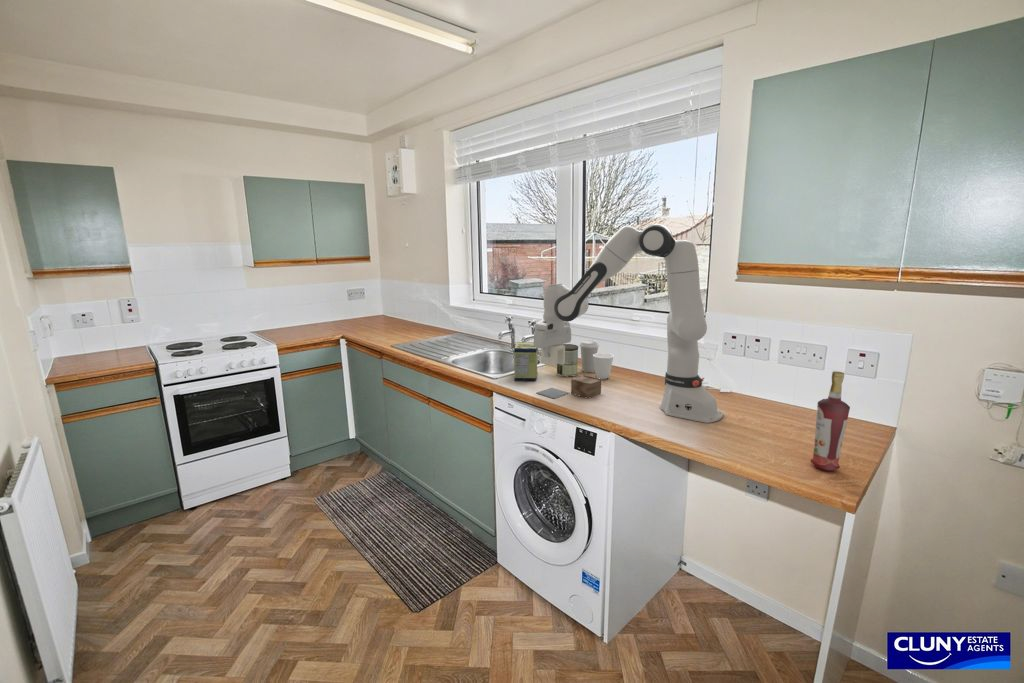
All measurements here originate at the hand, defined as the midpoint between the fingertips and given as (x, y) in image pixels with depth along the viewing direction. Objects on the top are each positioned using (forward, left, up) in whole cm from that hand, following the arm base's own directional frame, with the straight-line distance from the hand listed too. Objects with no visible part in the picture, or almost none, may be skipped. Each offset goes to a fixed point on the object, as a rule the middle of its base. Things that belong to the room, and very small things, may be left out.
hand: (552, 355), depth 192 cm
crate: (-10, -10, -17) cm, 22 cm away
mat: (0, 0, -17) cm, 17 cm away
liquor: (-98, -4, -17) cm, 100 cm away
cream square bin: (0, 0, -4) cm, 4 cm away
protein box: (+26, -11, -17) cm, 33 cm away
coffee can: (+15, -28, -17) cm, 36 cm away
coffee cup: (+11, -40, -17) cm, 45 cm away
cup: (-1, -35, -17) cm, 39 cm away
